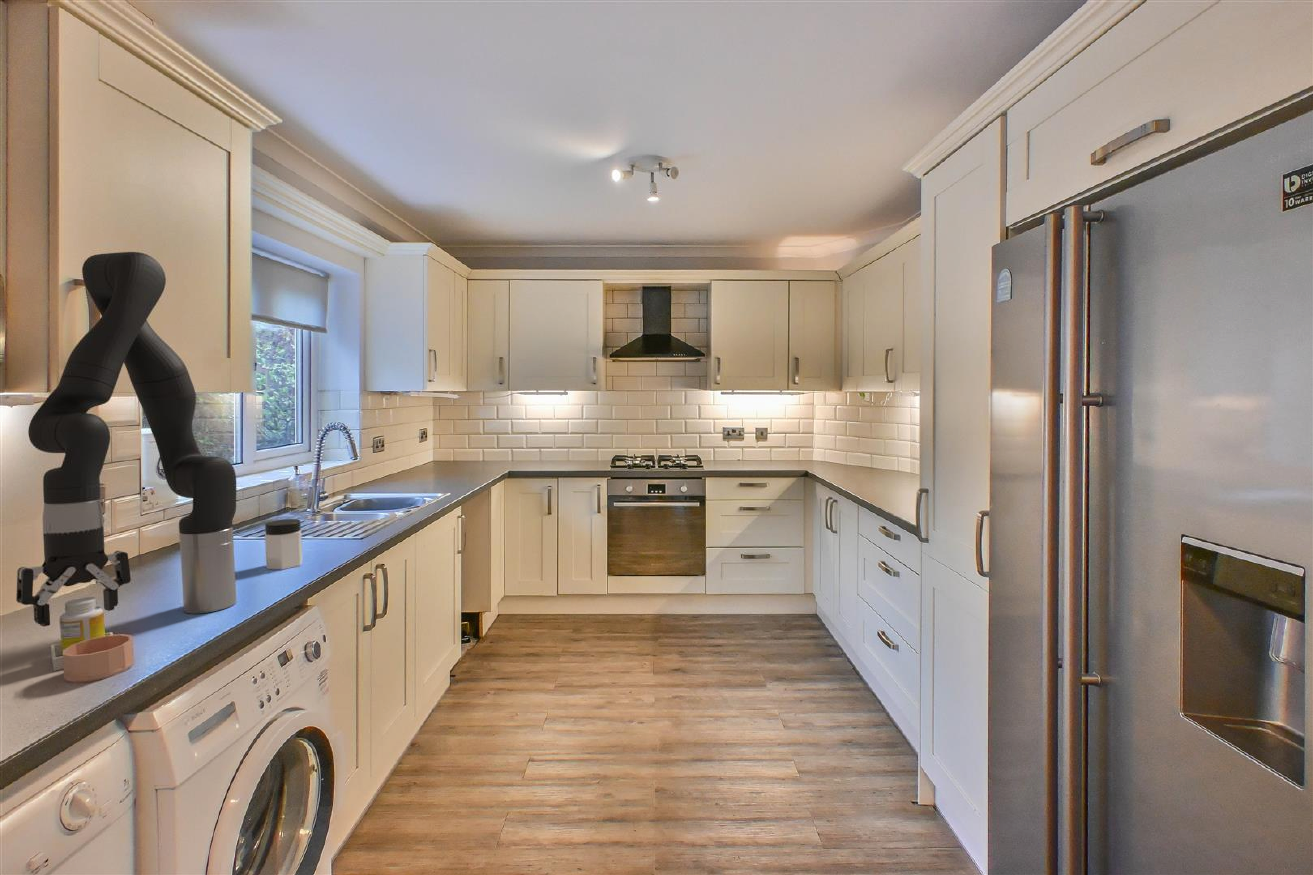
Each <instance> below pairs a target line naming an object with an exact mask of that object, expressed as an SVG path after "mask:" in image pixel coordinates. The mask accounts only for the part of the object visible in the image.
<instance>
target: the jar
mask: <svg viewBox="0 0 1313 875" xmlns="http://www.w3.org/2000/svg"><path fill="white" fill-rule="evenodd" d="M301 526H302V525H301V520H300V519H298V518H297V519H295V518H294V519H293V518H288V519H276V520H272V521H268V522H266V523H265V524H264V533H265V535H264V543H265V545H264V546H265V565H266V569H267V570H283V571H284V570H286V569H291V568H295V567H300V566H301V565H302V563H303V540H302V539H303V538H302V529H301Z"/></svg>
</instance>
